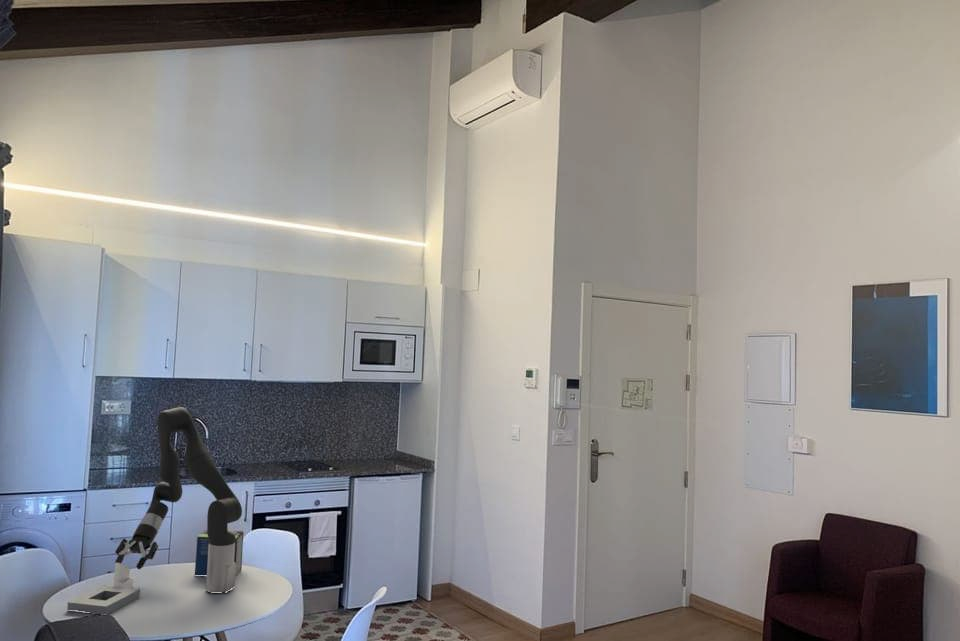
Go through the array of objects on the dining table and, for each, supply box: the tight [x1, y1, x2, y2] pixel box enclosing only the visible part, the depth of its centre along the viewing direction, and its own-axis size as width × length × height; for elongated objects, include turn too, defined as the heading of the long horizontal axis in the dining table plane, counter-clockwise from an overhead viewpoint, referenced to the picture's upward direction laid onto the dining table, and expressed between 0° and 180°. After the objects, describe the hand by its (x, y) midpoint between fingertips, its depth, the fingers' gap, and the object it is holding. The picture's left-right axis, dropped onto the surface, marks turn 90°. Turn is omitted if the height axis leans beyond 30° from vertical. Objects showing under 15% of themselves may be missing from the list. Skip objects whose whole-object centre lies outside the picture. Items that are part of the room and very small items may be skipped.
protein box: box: [194, 529, 244, 576], centre depth 286 cm, size 10×15×16 cm
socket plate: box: [66, 585, 141, 615], centre depth 247 cm, size 14×18×3 cm
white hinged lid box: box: [113, 561, 134, 588], centre depth 262 cm, size 4×10×9 cm, turn 168°
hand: (127, 567), depth 265 cm, fingers open, 8 cm apart
